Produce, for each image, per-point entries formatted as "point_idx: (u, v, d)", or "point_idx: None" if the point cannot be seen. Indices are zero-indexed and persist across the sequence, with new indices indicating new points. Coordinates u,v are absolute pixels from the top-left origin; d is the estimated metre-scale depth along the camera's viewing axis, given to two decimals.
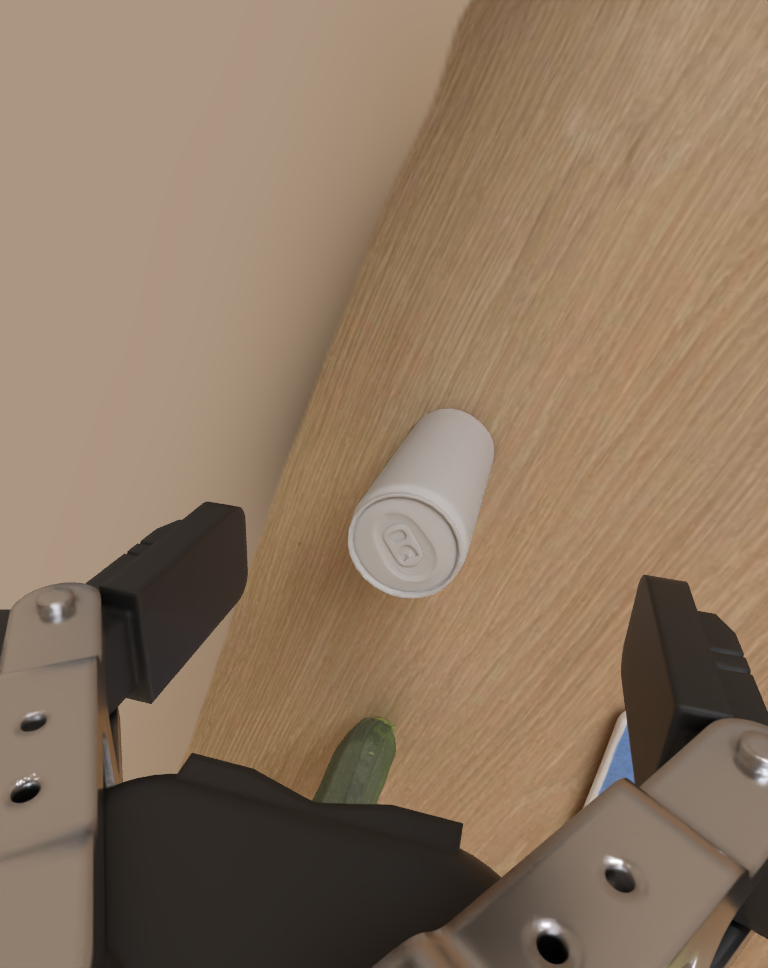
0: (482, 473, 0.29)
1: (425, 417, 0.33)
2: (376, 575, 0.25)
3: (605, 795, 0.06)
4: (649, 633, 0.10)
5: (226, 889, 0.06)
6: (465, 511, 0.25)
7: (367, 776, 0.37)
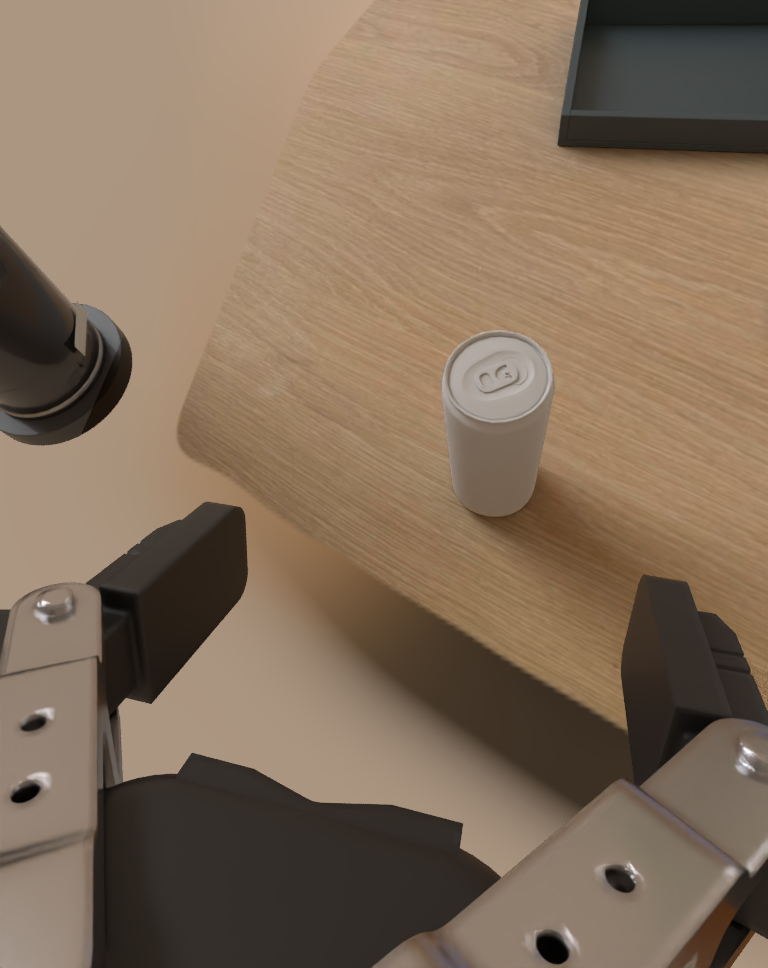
0: None
1: (454, 488, 0.36)
2: (530, 402, 0.26)
3: (605, 795, 0.06)
4: (649, 633, 0.10)
5: (226, 889, 0.06)
6: None
7: None
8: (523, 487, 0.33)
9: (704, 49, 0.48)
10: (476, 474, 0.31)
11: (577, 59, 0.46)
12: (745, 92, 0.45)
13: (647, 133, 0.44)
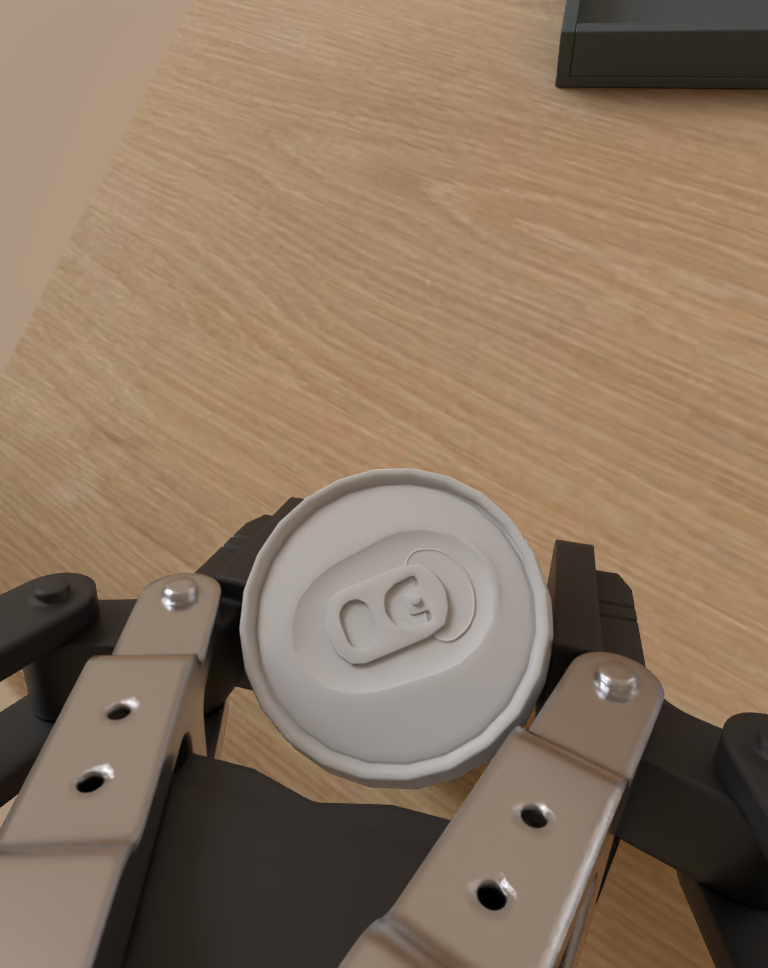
0: None
1: None
2: (483, 709, 0.09)
3: (504, 745, 0.07)
4: (552, 588, 0.11)
5: (226, 889, 0.06)
6: None
7: None
8: None
9: None
10: None
11: None
12: None
13: (702, 60, 0.27)
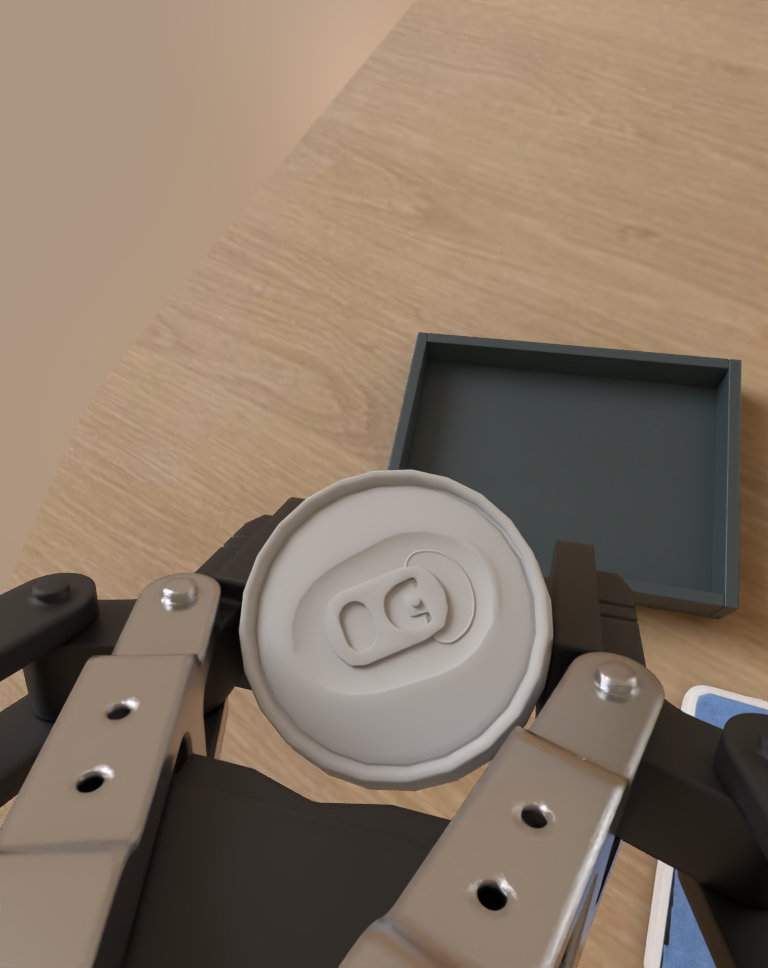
0: None
1: None
2: (482, 710, 0.09)
3: (504, 746, 0.07)
4: (552, 589, 0.11)
5: (226, 889, 0.06)
6: None
7: None
8: None
9: (579, 418, 0.35)
10: None
11: (401, 448, 0.34)
12: (629, 501, 0.33)
13: None
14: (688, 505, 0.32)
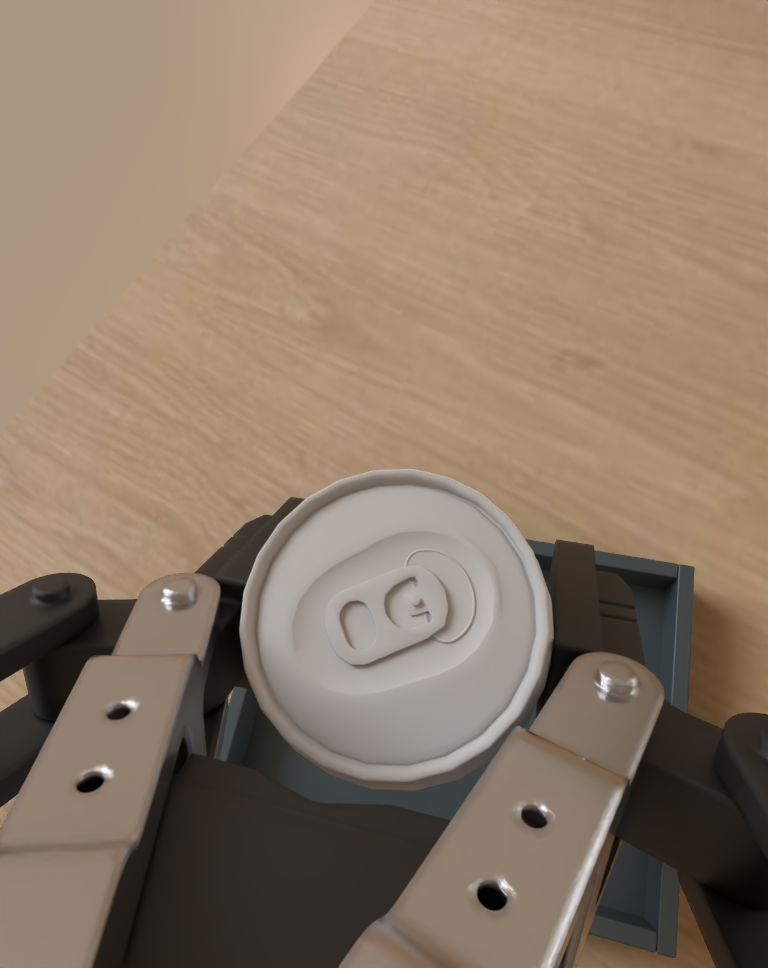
0: None
1: None
2: (483, 709, 0.09)
3: (505, 745, 0.07)
4: (552, 589, 0.11)
5: (226, 889, 0.06)
6: None
7: None
8: None
9: None
10: None
11: None
12: None
13: None
14: None
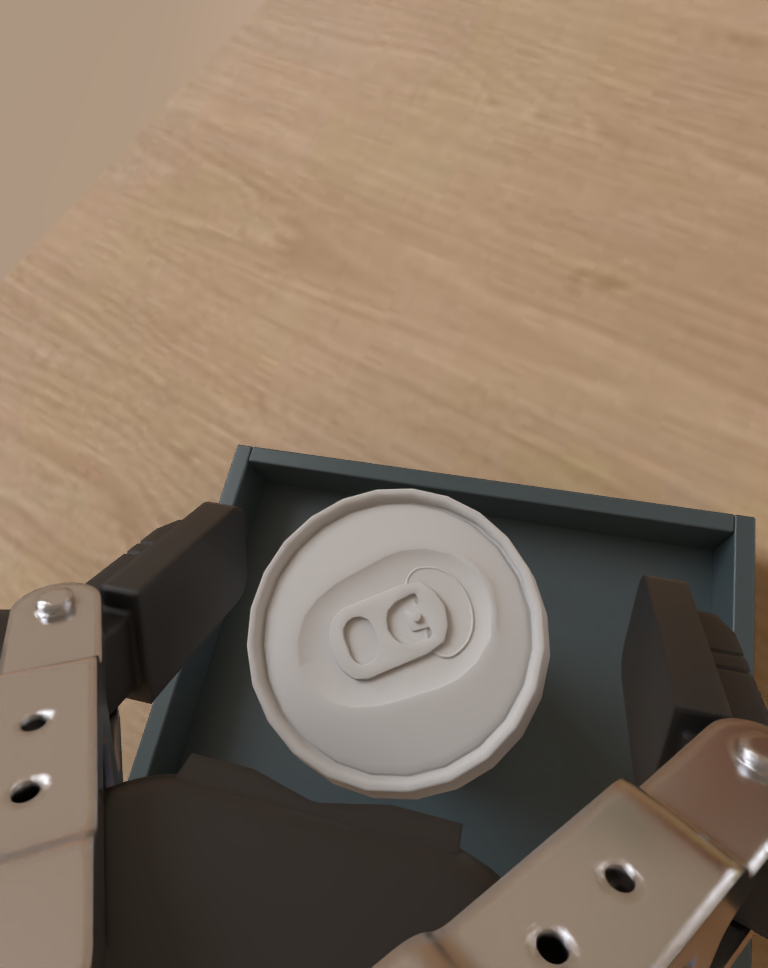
0: None
1: None
2: (481, 722, 0.09)
3: (605, 794, 0.06)
4: (649, 633, 0.10)
5: (226, 889, 0.06)
6: None
7: None
8: None
9: None
10: None
11: None
12: (561, 756, 0.19)
13: None
14: None
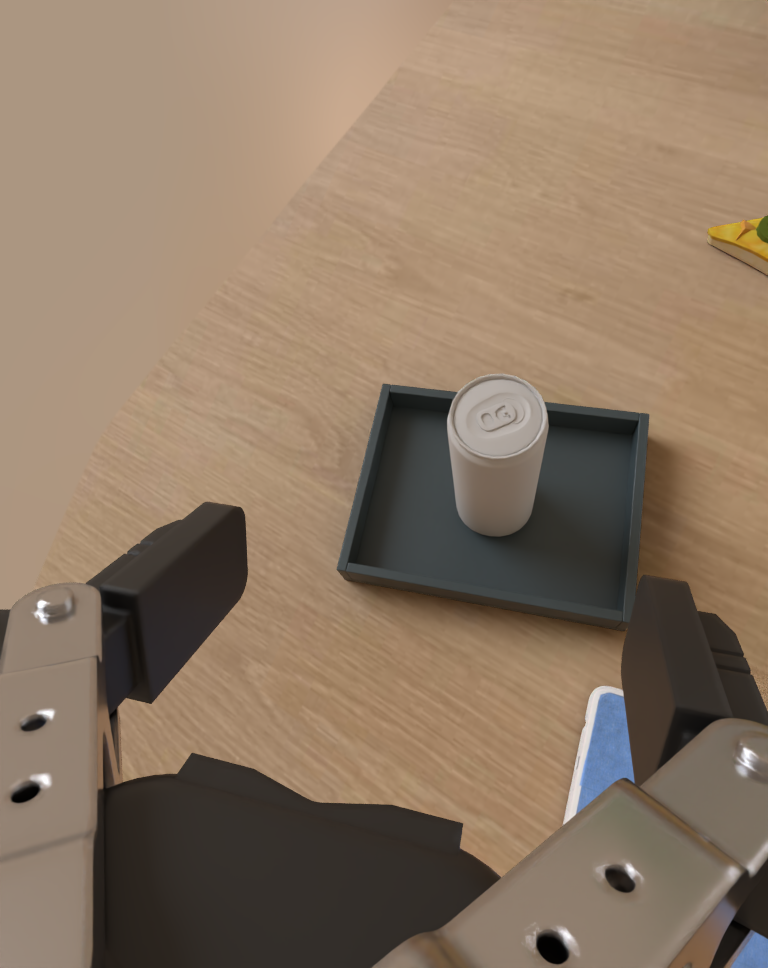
0: None
1: (458, 510, 0.39)
2: (527, 440, 0.29)
3: (605, 795, 0.06)
4: (649, 633, 0.10)
5: (226, 889, 0.06)
6: None
7: None
8: (521, 511, 0.36)
9: None
10: (478, 501, 0.34)
11: (364, 484, 0.40)
12: (554, 531, 0.39)
13: (435, 592, 0.38)
14: (603, 535, 0.39)
